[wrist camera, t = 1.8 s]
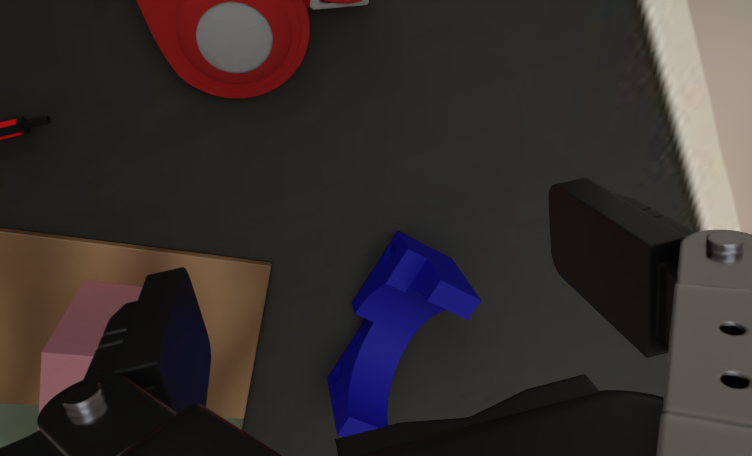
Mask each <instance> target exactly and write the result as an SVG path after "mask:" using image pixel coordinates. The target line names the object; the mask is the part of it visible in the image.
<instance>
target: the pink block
mask: <svg viewBox="0 0 752 456" xmlns="http://www.w3.org/2000/svg"><path fill="white" fill-rule="evenodd" d="M141 290H142V287H139V286H130V285H121V284H112V283H104V282H95V281H86V280H85V281H84V282H83V284H82V285H81V287H80V289H79V290H78V292H77V294H76V295H75V297H74V299H73V300H72V302H71V304H70V306H69V307H68V309H67V311H66V312H65V314H64V316H63V317H62V319H61V321H60V322H59V324H58V326H57V327H56V329H55V331H54V333H53V334H52V336H51V338H50V339H49V341H48V343H47V344H46V346H45V348H44V349H43V351H42V353H41V375H40V396H39V413H40V411H41V410H42V408H43V407H44V406H45V405H46V404H47V403H48V402H49V401H50V400H51V399H52V398H53V397H54V396H55V395H57V394H58V393H60V392H61V391H63V390H64V389H66V388H67V387H69V386H71V385H73V384H75V383H77V382H80V381H82V380H83V379H84V377H85V375H86V372H87V370H88V368H89V365H90V363H91V361H92V358H93V356H94V354H95V351H96V349H98V344H99V342H100V340H101V337H102V336H104V335H103V333H104V330H105V328H106V326H107V323H108V321H109V319H110V318H111V317H112V316H113V315H114V314H115V313H116V312H117V311H118V310H119V309H120V308H121V307H122V306H123V305H124V304H125V303H129V302H133V301H138V298H139V295H140V293H141ZM38 430H39V428H38Z"/></svg>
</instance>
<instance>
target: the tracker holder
mask: <svg viewBox="0 0 752 456" xmlns="http://www.w3.org/2000/svg"><path fill="white" fill-rule="evenodd" d="M136 1H137V3H138V5H139V7H140V10H141V12H142V14H143V16H144V18H145V20H146V23H147V25H148V27H149V29H150V31H151V34H152V36H153V38H154V39H155V41H156V43H157V45H158V46H159V48H160V50H161V52H162V53H163V55H164V57H165V58H166V60H167V61H168V63H169V64H170V65H171V67H172V68H173V69H174V71H175V72H176V73H177V74H178V75H179V76H180V77H181V78H182V79H183V80H184V81H185V82H187V83H188V84H189V85H191V86H193V87H195V88H197V89H199V90H201V91H203V92H205V93H208V94H211V95H214V96H218V97H224V98H250V97H254V96H258V95H262V94H265V93H267V92H269V91H272V90H274V89H276V88H277V87H279V86H280V85H282V84H283V83H284V82H285V81H287V80H288V79H289V78H290V77H291V76H292V75H293V74H294V72H295V71H296V70H297V68H298V67H299V65H300V64H301V62H302V60H303V58H304V56H305V53H306V50H307V47H308V42H309V37H310V26H309V16H308V12H307V8H309V7H311V8H312V9H313V10H316V9H327V8H338V7H349V6H360V5H367V4H368V3H369V0H136Z"/></svg>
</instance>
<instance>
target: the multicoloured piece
mask: <svg viewBox="0 0 752 456" xmlns="http://www.w3.org/2000/svg"><path fill="white" fill-rule="evenodd" d="M181 267H184V268H185V269H186V270H187V272H188V274H189V277H190V279H191V282H192V286H193V289H194V292H195V295H196V298H197V301H198V304H199V307H200V311H201V314H202V317H203V320H204V323H205V326H206V329H207V333H208V337H209V341H210V347H211V367H210V376H209V385H208V394H207V403H206V407H207V408H208V409H210V410H212V411H213V412H215V413H216V414H218V415H219V416H221V417H222V418H224V419H225V420H227V421H229V422H230V423H232V424H233V425H235V426H236V427H238V428H239V429H241V430H242V426H243V421H244V415H245V410H246V404H247V399H248V393H249V388H250V382H251V377H252V371H253V365H254V360H255V354H256V349H257V343H258V338H259V332H260V327H261V321H262V316H263V310H264V305H265V299H266V294H267V288H268V283H269V277H270V272H271V262H264V261H256V260H248V259H240V258H233V257H225V256H217V255H209V254H201V253H194V252H186V251H178V250H170V249H163V248H155V247H147V246H139V245H131V244H124V243H116V242H108V241H100V240H92V239H85V238H77V237H69V236H61V235H54V234H46V233H38V232H30V231H22V230H15V229H7V228H0V448H2V447H4V446H6V445H9V444H11V443H13V442H16V441H18V440H20V439H22V438H25V437H27V436H29V435H31V434H33V433H35V432H37V431H38V425H37V419H38V416H39V396H40V375H41V353H42V351H43V349H44V348H45V346H46V344H47V343H48V341H49V339H50V338H51V336H52V334H53V333H54V331H55V329H56V327H57V326H58V324H59V322H60V321H61V319H62V317H63V316H64V314H65V312H66V311H67V309H68V307H69V306H70V304H71V302H72V300H73V299H74V297H75V295H76V294H77V292H78V290H79V289H80V287H81V285H82V284H83V282H84V281H85V280H86V281H95V282H104V283H112V284H121V285H130V286H139V287H143V284H144V282H145V279H146V276H147V275H149V274H154V273H158V272H163V271H167V270H172V269H176V268H181Z"/></svg>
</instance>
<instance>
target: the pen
mask: <svg viewBox="0 0 752 456" xmlns="http://www.w3.org/2000/svg"><path fill="white" fill-rule="evenodd" d="M50 122H51V120H50V118H49V117H48V116H46V117H42V118H37V119H33V120H29V121H26V119H25V118H23V117H21V118H17V119H13V120H9V121H4V122H0V140H2V139H6V138H10V137H14V136H19V135H23V134H27V133H29V132H30V128H32V127H36V126H40V125H44V124H48V123H50Z"/></svg>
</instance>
